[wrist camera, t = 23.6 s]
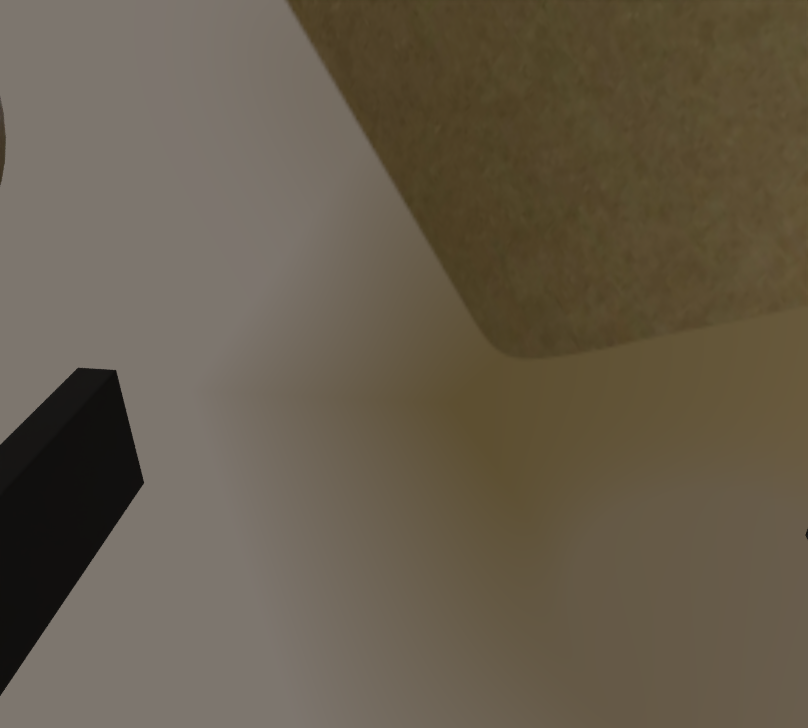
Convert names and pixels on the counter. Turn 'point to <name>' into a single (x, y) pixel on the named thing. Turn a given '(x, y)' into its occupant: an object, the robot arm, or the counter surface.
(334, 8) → the counter surface
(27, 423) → the robot arm
